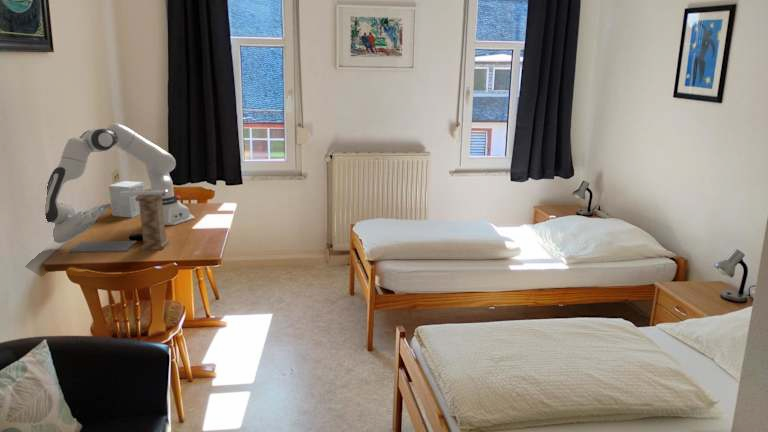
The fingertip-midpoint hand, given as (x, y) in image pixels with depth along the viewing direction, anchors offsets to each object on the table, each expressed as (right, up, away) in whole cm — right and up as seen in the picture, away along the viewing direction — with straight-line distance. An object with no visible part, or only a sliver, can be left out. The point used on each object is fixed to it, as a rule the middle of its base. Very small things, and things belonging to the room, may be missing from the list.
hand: (106, 206), depth 285 cm
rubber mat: (-4, -19, +5) cm, 20 cm away
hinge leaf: (+18, +5, 0) cm, 19 cm away
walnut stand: (+20, -19, +7) cm, 28 cm away
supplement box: (-15, -3, +62) cm, 64 cm away
